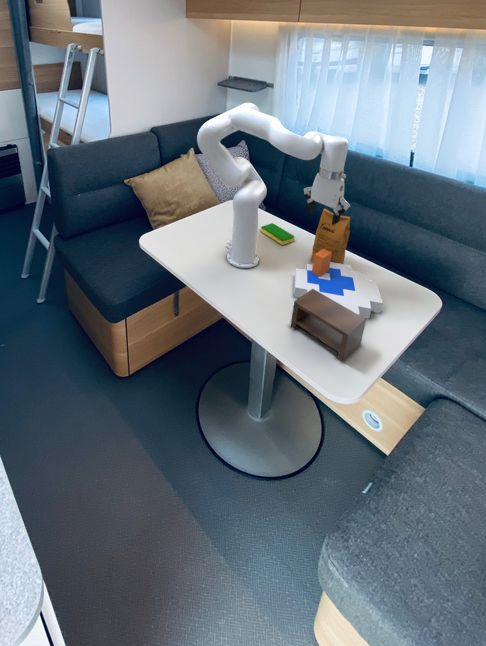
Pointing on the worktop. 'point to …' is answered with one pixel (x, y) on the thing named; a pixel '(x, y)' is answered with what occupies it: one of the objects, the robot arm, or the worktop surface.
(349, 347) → the shelf
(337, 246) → the coffee package
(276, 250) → the worktop surface
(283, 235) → the dish sponge
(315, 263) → the block
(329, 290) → the stepped white slab
